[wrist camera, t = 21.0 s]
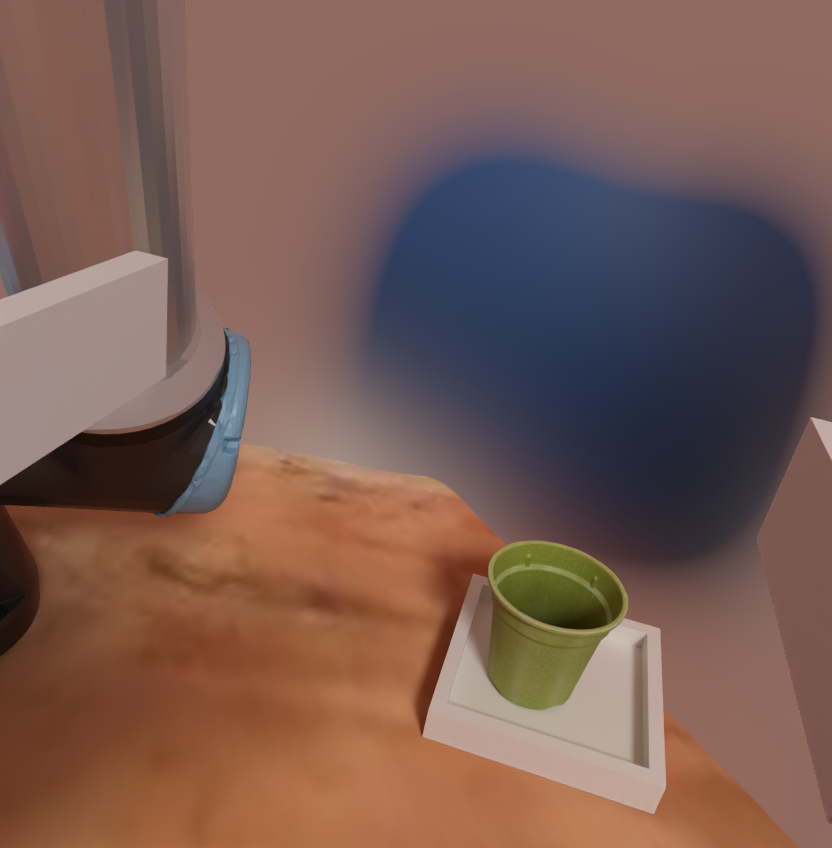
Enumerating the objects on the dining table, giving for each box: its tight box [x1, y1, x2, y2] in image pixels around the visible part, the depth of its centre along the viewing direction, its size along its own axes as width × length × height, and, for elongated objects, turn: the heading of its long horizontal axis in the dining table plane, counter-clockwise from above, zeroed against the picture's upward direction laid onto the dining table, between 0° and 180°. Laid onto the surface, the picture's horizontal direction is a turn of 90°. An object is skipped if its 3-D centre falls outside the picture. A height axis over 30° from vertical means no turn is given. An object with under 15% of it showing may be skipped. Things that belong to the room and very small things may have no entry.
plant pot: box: [487, 541, 628, 710], centre depth 53 cm, size 9×9×9 cm
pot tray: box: [422, 573, 666, 814], centre depth 55 cm, size 15×15×2 cm
